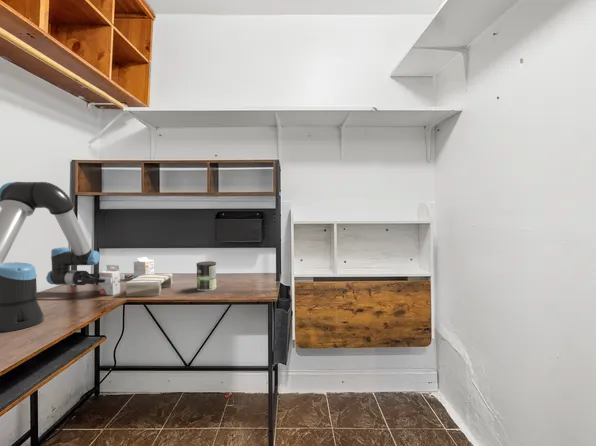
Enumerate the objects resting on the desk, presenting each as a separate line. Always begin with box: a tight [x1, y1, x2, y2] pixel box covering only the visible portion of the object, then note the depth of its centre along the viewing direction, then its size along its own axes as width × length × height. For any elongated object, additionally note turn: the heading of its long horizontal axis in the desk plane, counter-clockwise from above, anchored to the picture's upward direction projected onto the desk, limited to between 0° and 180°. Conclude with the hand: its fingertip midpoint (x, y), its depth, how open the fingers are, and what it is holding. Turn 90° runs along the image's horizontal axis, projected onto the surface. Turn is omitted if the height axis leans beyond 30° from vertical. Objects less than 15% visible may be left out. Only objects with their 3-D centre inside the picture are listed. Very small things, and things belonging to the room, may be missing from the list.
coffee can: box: [196, 260, 217, 292], centre depth 171 cm, size 10×10×14 cm
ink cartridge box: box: [98, 264, 121, 296], centre depth 162 cm, size 9×5×15 cm, turn 74°
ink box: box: [133, 256, 155, 279], centre depth 196 cm, size 9×8×13 cm
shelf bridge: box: [125, 273, 174, 297], centre depth 167 cm, size 20×16×7 cm
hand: (117, 278), depth 162 cm, fingers open, 9 cm apart
